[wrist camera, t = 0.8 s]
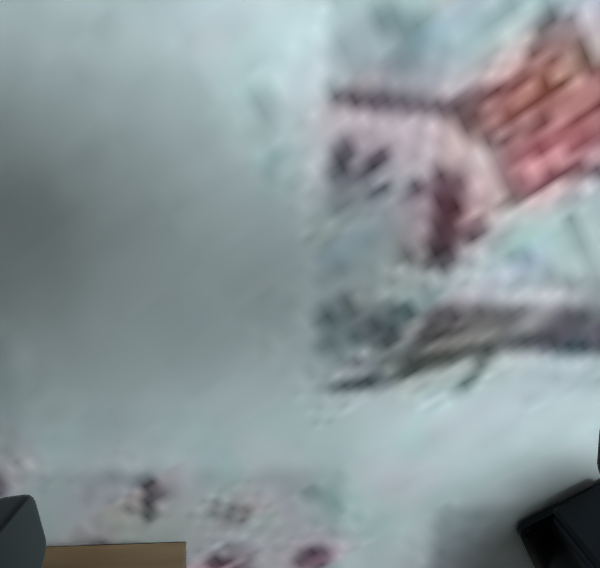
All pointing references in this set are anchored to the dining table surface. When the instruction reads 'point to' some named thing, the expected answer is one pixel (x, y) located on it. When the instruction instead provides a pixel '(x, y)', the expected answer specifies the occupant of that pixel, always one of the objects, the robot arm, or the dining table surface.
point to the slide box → (117, 556)
